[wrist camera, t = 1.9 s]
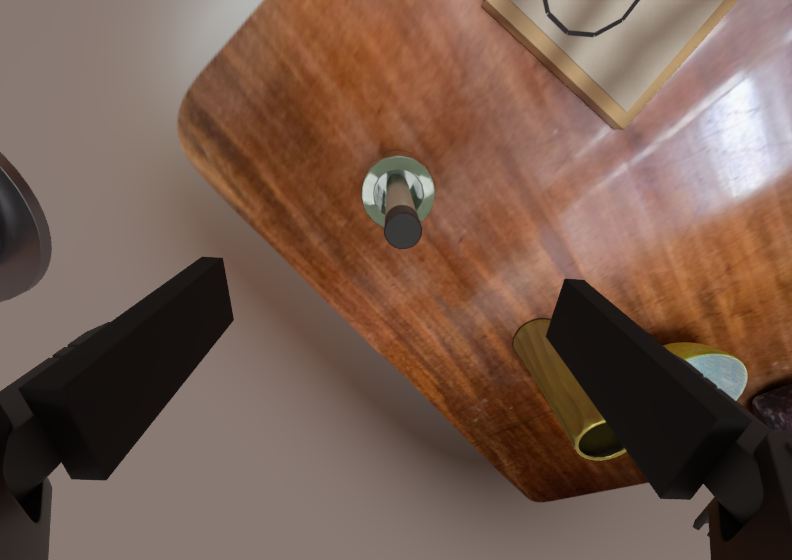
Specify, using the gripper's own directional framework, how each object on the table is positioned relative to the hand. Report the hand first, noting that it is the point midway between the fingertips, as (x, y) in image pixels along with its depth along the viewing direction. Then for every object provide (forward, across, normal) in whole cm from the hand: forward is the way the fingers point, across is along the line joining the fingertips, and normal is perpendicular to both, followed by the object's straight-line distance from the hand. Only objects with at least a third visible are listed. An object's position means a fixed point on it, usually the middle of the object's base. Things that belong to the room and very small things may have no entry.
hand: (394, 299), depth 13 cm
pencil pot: (+21, 0, +1) cm, 21 cm away
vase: (+22, +19, -17) cm, 33 cm away
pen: (+21, 0, +1) cm, 21 cm away
